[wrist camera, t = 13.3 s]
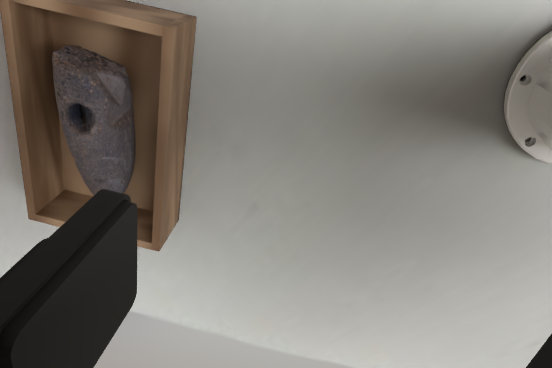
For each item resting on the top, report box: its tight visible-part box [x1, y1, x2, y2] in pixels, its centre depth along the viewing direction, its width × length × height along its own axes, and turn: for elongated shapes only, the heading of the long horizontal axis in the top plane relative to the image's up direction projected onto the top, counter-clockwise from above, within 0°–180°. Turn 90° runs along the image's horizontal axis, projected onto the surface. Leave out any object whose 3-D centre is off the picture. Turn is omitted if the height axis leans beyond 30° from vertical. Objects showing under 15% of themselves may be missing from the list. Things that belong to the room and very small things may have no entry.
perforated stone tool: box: [52, 45, 136, 195], centre depth 38 cm, size 15×5×7 cm, turn 175°
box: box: [0, 0, 197, 251], centre depth 39 cm, size 14×22×6 cm, turn 169°
